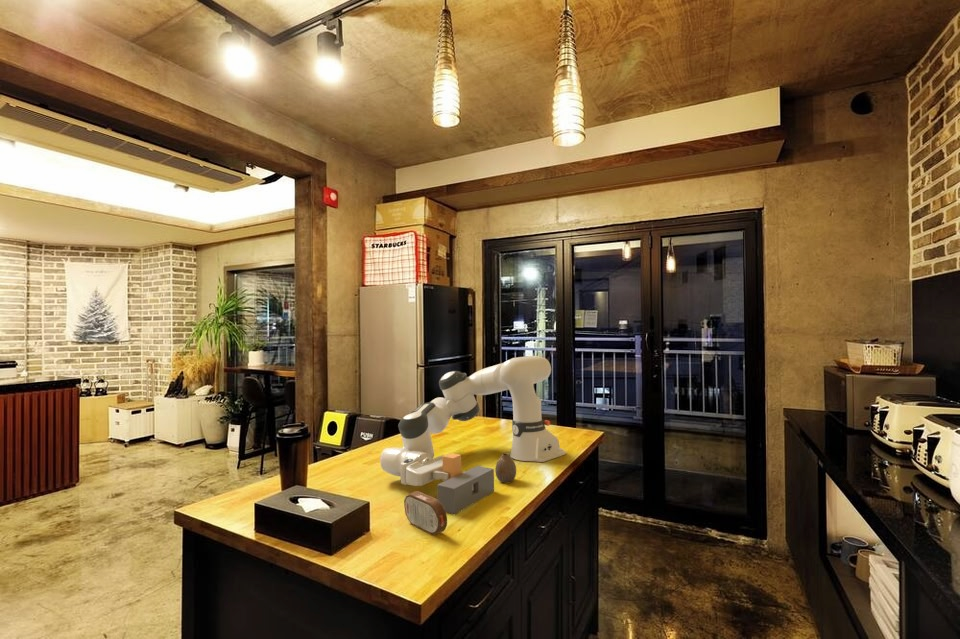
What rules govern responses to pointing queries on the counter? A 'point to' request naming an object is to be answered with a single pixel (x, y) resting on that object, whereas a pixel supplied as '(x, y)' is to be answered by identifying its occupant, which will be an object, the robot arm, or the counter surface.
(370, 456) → the counter surface
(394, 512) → the counter surface
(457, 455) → the plug
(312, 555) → the counter surface
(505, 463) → the vase
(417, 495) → the tin
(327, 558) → the counter surface
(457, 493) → the block
